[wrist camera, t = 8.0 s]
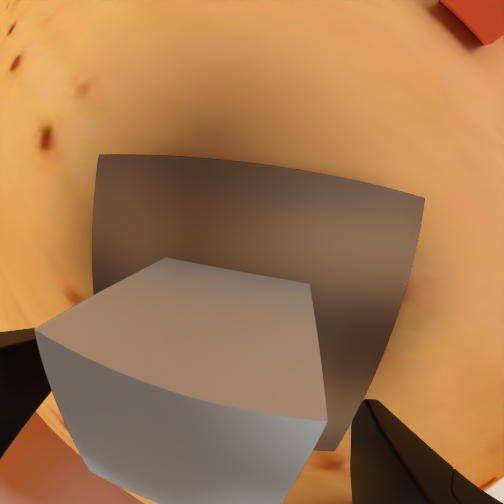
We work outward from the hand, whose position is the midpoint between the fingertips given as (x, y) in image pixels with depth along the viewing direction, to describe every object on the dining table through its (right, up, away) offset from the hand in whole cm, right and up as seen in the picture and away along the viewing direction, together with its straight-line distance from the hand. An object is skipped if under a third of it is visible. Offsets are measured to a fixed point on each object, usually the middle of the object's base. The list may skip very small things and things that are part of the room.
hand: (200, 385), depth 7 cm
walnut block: (+1, +1, +7) cm, 7 cm away
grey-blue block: (+1, +1, +3) cm, 3 cm away
